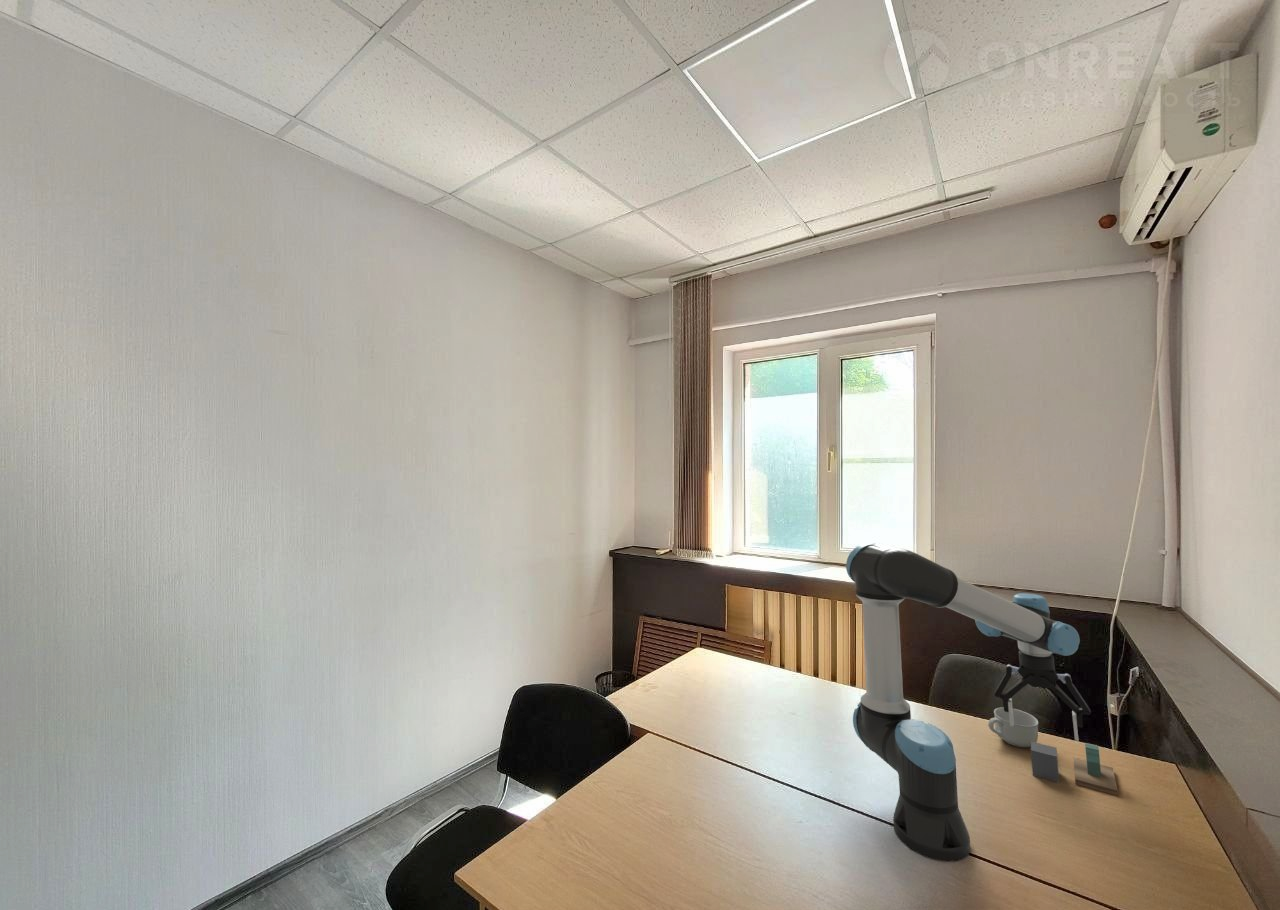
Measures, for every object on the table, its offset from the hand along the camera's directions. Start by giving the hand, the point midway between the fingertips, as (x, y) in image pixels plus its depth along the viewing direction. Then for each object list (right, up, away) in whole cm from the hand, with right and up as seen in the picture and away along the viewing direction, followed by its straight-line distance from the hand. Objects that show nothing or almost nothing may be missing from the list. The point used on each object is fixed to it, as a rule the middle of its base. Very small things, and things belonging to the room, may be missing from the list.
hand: (1043, 731), depth 133 cm
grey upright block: (0, -11, -1) cm, 11 cm away
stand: (+11, -11, -3) cm, 16 cm away
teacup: (+3, -12, +15) cm, 20 cm away
